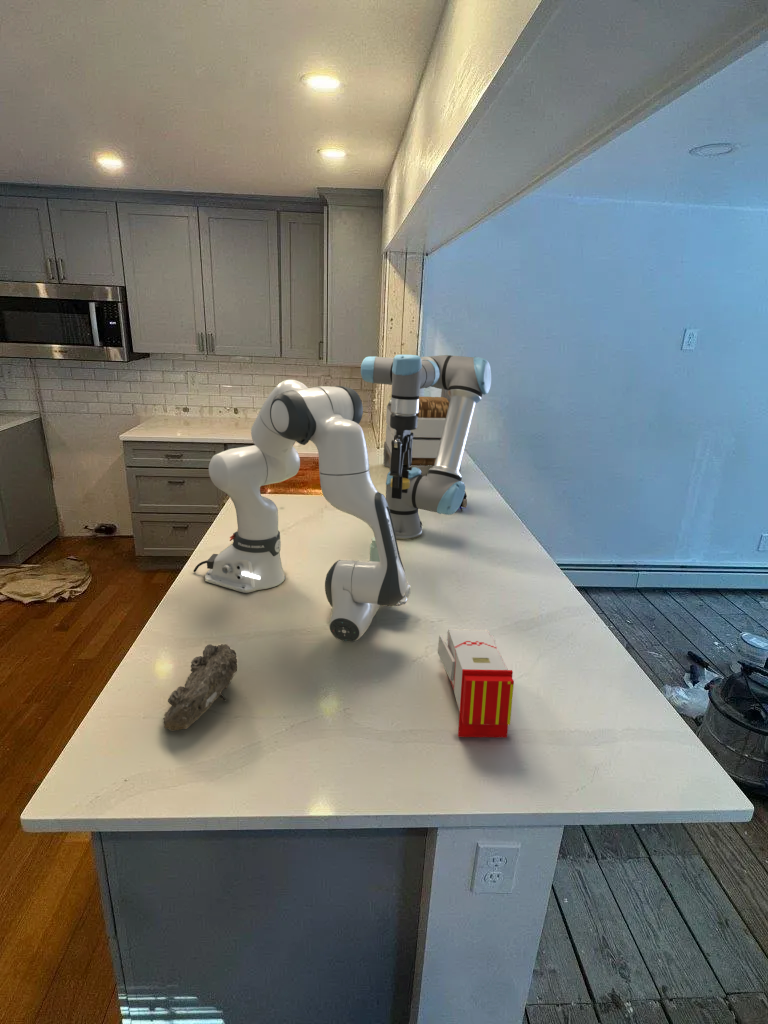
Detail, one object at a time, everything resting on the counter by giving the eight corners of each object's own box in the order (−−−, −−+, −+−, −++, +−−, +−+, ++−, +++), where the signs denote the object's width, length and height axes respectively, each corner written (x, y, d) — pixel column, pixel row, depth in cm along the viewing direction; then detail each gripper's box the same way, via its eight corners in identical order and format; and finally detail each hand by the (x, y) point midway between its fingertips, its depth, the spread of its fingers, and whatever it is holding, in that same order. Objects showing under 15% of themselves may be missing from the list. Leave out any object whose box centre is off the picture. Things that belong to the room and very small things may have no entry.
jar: (381, 592, 158) (384, 534, 152) (387, 600, 154) (390, 541, 148) (365, 594, 157) (368, 536, 151) (371, 602, 153) (373, 543, 147)
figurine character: (467, 516, 223) (461, 500, 237) (469, 499, 220) (463, 483, 233) (450, 516, 223) (446, 499, 236) (452, 498, 220) (447, 483, 233)
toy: (488, 613, 130) (523, 677, 101) (484, 667, 133) (517, 744, 104) (435, 612, 130) (455, 676, 101) (432, 666, 133) (451, 743, 103)
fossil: (188, 646, 122) (238, 614, 117) (219, 675, 125) (269, 646, 120) (140, 724, 103) (196, 691, 98) (177, 757, 105) (234, 726, 100)
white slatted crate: (382, 463, 289) (386, 382, 275) (445, 464, 293) (451, 384, 279) (390, 482, 257) (394, 392, 243) (460, 483, 261) (468, 394, 247)
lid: (394, 490, 158) (394, 483, 157) (387, 484, 162) (388, 477, 162) (412, 488, 159) (413, 482, 159) (405, 483, 164) (406, 476, 163)
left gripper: (405, 594, 138) (416, 570, 151) (325, 581, 143) (343, 559, 155) (403, 616, 140) (414, 591, 153) (325, 603, 145) (342, 580, 157)
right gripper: (400, 407, 163) (396, 484, 171) (380, 417, 147) (376, 502, 154) (426, 410, 161) (420, 488, 169) (408, 420, 145) (402, 506, 152)
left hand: (378, 575), depth 154 cm, fingers closed on jar, 4 cm apart
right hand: (399, 494), depth 162 cm, fingers closed on lid, 5 cm apart
